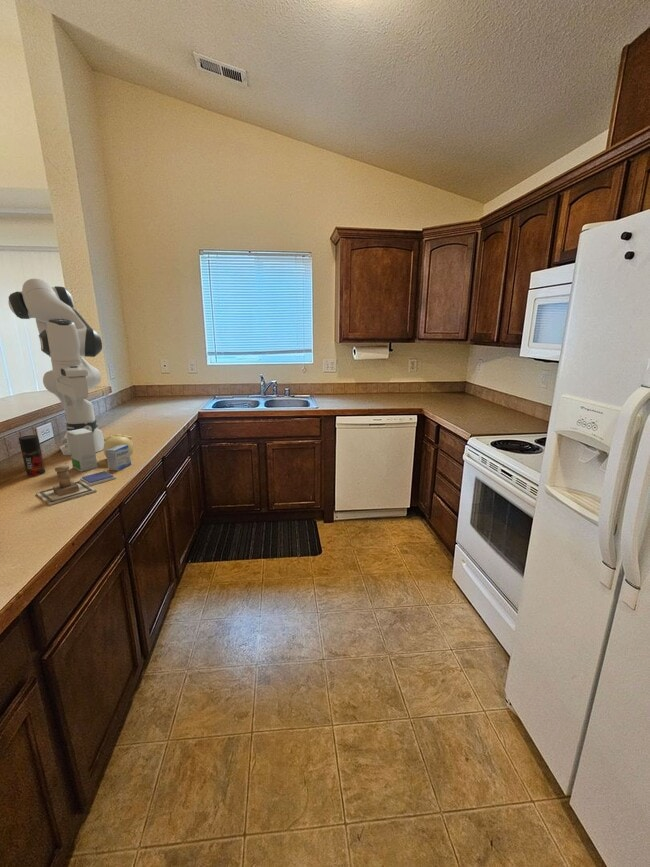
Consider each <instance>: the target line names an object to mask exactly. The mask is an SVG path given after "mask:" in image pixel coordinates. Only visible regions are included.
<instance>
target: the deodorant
mask: <svg viewBox="0 0 650 867" xmlns="http://www.w3.org/2000/svg"><path fill="white" fill-rule="evenodd" d="M39 440H40V439H39V436H38V435H37V434H30V435H29V434H28V435H24V436H20V437H18V443H19V446H20V451H21V455H22V459H23V463H24V464H23V465H24V467H25V468H24V469H25V472H26V476H27V477H38V476H42V475H45V473H46V469H45V468H46V466H45V463H44V459H43V454H42V449H41V445H40V441H39Z"/></svg>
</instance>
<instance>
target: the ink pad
mask: <svg viewBox="0 0 650 867" xmlns="http://www.w3.org/2000/svg"><path fill="white" fill-rule="evenodd" d="M116 478H117V477H116V476H115V475H113V474H111V473H109V472H108V471H106V470H103V471H99V472H96V473H93V474H87V475H84V476H82V477H80V480H79V481H83V482H84V483H86V484H87V485H89V486H91V487H92V486H95V485H98V484H103V483H104V482H108V481H112V480H116Z"/></svg>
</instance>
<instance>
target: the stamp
mask: <svg viewBox="0 0 650 867" xmlns="http://www.w3.org/2000/svg"><path fill="white" fill-rule="evenodd" d="M69 470H70V466H69V465H59V466H55V467H54V471H55V472H56V474H57V475H56V476H57V479H58V484H57V485H53V486H52V488H53V491H54V493H56V494H57V495H58V496H63V495H66V494H70V493H73V492H77V491H79V486H78V485H77V484H76V483H74V481H71V478H70V472H69Z"/></svg>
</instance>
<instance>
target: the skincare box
mask: <svg viewBox="0 0 650 867" xmlns="http://www.w3.org/2000/svg"><path fill="white" fill-rule="evenodd" d="M66 433H67V435H68V441H69V447H70V453H71V455H70V458H71V466H72V468H73V469H76V470H77V471H80V472H86V471H89V470H93V469H96V468H98V462H97V455H96V453H97V452H95V446H94V439H93V432H92V431H89V430H86V429H83V428H82V429H77V430H72V431H67V430H66Z"/></svg>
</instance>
